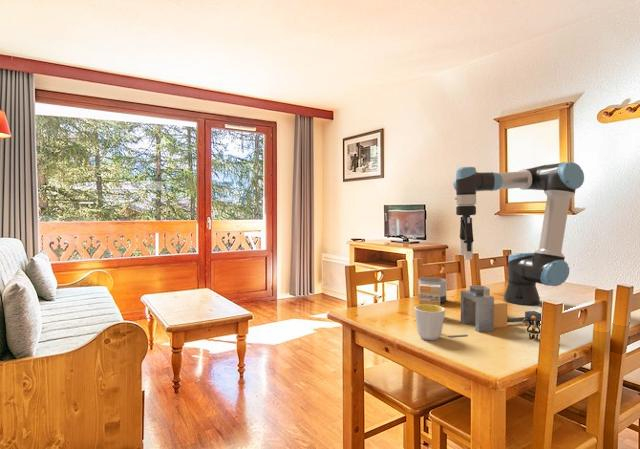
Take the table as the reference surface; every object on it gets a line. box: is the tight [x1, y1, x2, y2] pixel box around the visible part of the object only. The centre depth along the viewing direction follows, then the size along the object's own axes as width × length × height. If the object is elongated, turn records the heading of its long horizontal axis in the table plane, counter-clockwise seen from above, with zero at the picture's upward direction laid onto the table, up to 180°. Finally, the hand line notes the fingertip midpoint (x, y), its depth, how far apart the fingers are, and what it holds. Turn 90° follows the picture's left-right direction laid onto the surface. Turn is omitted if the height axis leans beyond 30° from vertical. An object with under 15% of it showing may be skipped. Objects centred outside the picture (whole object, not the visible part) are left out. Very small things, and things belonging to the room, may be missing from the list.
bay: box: [443, 320, 468, 338], centre depth 141 cm, size 7×18×1 cm, turn 10°
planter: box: [417, 276, 447, 304], centre depth 183 cm, size 13×13×10 cm
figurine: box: [522, 316, 541, 342], centre depth 129 cm, size 5×5×8 cm
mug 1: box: [413, 304, 446, 341], centre depth 133 cm, size 14×10×10 cm
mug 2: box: [467, 284, 491, 296], centre depth 163 cm, size 12×8×11 cm
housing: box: [460, 287, 495, 333], centre depth 143 cm, size 6×12×14 cm, turn 10°
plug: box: [494, 299, 542, 329], centre depth 146 cm, size 21×5×9 cm, turn 100°
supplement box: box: [418, 284, 441, 306], centre depth 157 cm, size 8×5×13 cm, turn 70°
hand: (466, 257), depth 156 cm, fingers open, 13 cm apart
